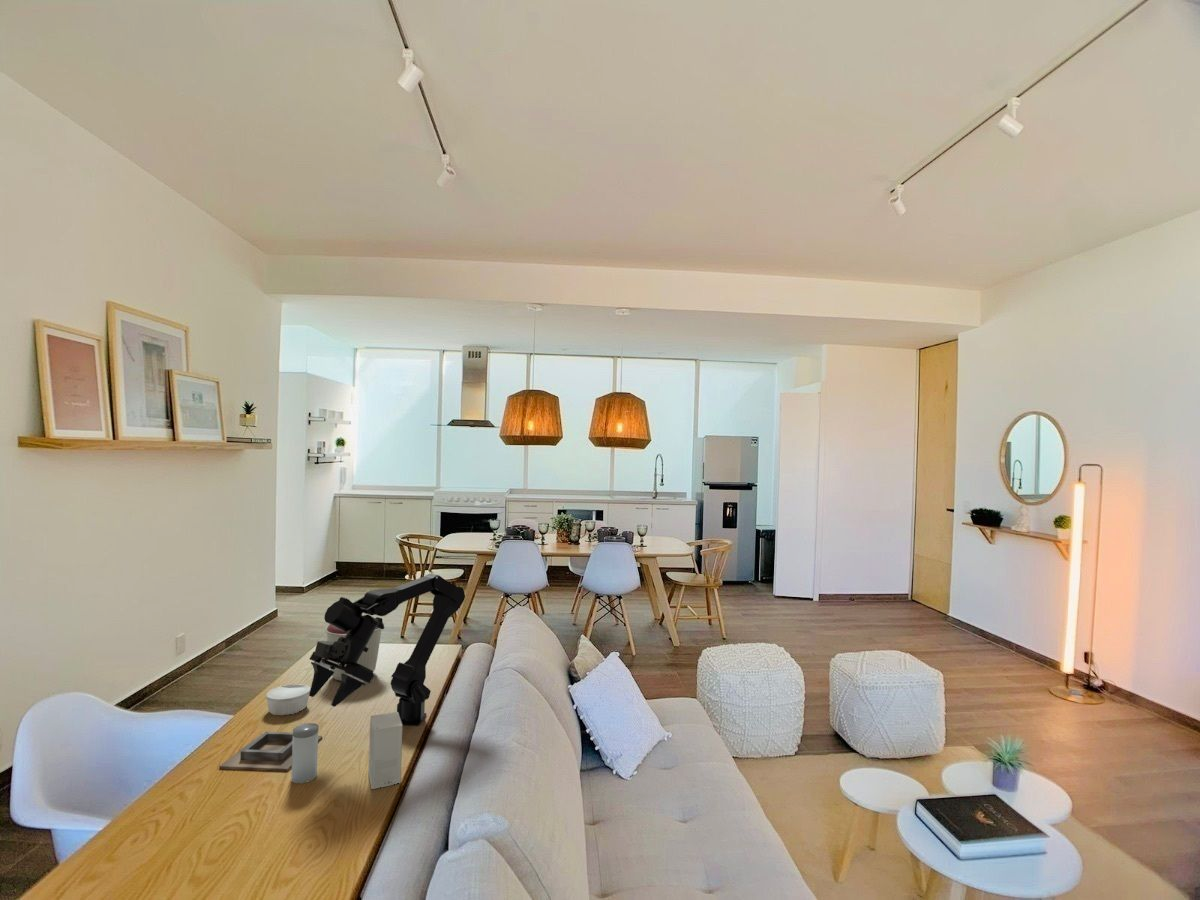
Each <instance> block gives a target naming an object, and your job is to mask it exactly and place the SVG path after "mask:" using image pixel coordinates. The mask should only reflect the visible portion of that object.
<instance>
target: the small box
mask: <svg viewBox="0 0 1200 900" xmlns="http://www.w3.org/2000/svg"><path fill="white" fill-rule="evenodd" d="M369 723H370V724H369V726H370V727H369V745H368V746H369V750H368V770H367V772H368V779H369V783H370V789H371V790H375V789H381V788H384V787H390V786H394V784H395V785H398V784H397V783H399V784H401V783H402V755H403V754H402V753H403V727H404V725H402V722H401V719H400V716H399V713H398V712H397V711H395V712H388V713H382V714H374V715H370V722H369ZM380 787H381V788H380Z"/></svg>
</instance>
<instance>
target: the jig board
mask: <svg viewBox="0 0 1200 900" xmlns="http://www.w3.org/2000/svg"><path fill="white" fill-rule="evenodd" d="M321 740H323V735H318V743H319V742H320V741H321ZM292 744H293V732H285V731H283V732H282V731H265V732H264V733H260V734H259V735H258V736H256V737H254V739H252V740H250V741H249V742H248V743H247V744H246V745H245V746H244V747H242V748H241V749H239V750H238V751H237V752H235V753H234V754H233V755H232V756H230V757H229V758H228V759H227V760H225V761H224V762H223V763H222V764H220V765H219V766H218V767H219V768H218V769H219V770H238V771H239V770H243V771H263V770H264V771H265V772H266V770H275V771H274V772H288V771H290V770H292Z"/></svg>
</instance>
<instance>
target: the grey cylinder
mask: <svg viewBox="0 0 1200 900" xmlns="http://www.w3.org/2000/svg"><path fill="white" fill-rule="evenodd" d="M292 733H293V744H292V768H291V774H290V775H291V779H290V780H292V781H291V782H292V783H293V782H295V783H294V784H298V783H300V784H305V783H304V782H306V783H308V782H307V781H309V782H311V781H313V780H315V779H316V778H317V777H318V759H319V757H318V755H319V754H318V753H319V742H318V736H319V724H318V723H316V722H306V723H303V724H299V725H296V726H295V727H294V728H292ZM315 777H316V778H315ZM314 778H315V779H314ZM312 779H313V780H312ZM310 780H311V781H310Z"/></svg>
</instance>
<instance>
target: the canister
mask: <svg viewBox="0 0 1200 900" xmlns="http://www.w3.org/2000/svg"><path fill="white" fill-rule="evenodd" d="M383 624H384V625H385V623H384V622H383ZM324 632H325V633H326V640H327V641H331V642H335V641H338V639H339V638H340V637H344V638H345V636H346V634H347V632H348V631H346V632H344V631H342V630H340V629H338V628H336V627H334V626H333V625H331V624H328V625H327V626H325V628H324ZM381 635H382V629H380V628H376V629H375V631H374V633H373V635H372V636H371V638H370V640H369V642H368V644H367V645H366V647H367V648H369V649H368V651H367V652H364V651H363V653H362V654H361V656H360V658H359V660H358V662H357V663H358V664H360V665H362V666H364V667H366V668H368V669H370V670H372V671H373V673H374V672H375V670H376V666H377V661H378V656H379V651H380V650H379V648H380V641H381ZM339 664H340V663H339ZM345 667H346V664H345ZM329 670H331V671H333V672H334V674H333V675H332V676H331V677H332V678H333V679H334V680H336V681H338V680H339V682H342V679H341V673H342V674H345V675H348V673H345V671H343V670H340V669H338V668H335V669H334V670H333V669H329Z"/></svg>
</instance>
